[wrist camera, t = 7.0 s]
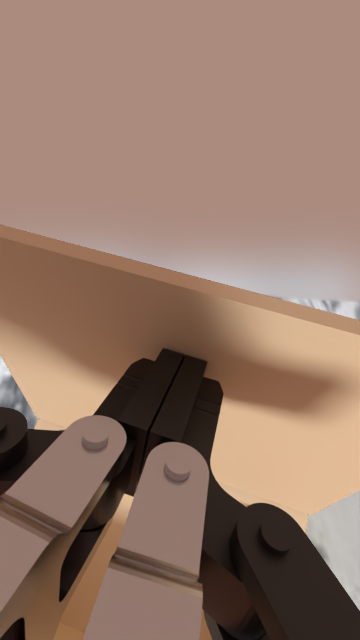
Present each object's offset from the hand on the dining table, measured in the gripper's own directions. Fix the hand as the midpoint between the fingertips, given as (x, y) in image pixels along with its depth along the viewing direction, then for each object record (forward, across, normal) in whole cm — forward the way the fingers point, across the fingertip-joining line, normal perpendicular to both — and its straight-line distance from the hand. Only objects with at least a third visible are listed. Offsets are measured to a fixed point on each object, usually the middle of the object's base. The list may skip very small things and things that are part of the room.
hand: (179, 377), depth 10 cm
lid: (+1, 0, +3) cm, 3 cm away
